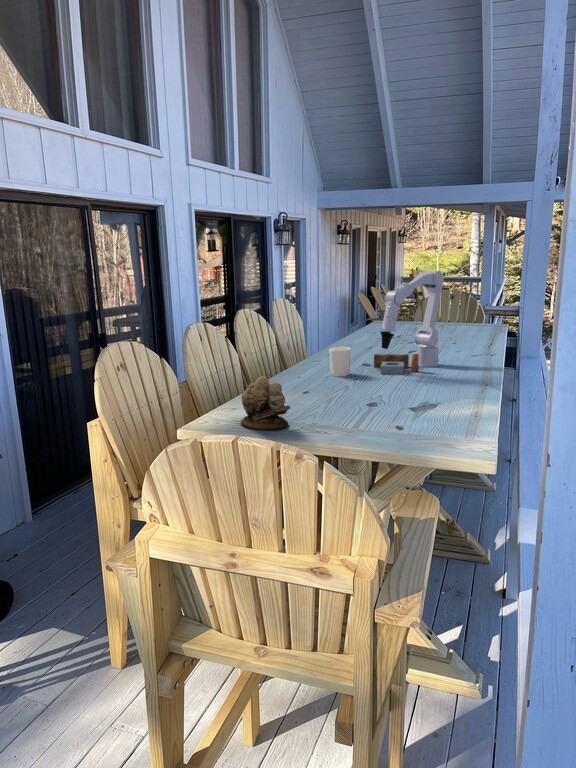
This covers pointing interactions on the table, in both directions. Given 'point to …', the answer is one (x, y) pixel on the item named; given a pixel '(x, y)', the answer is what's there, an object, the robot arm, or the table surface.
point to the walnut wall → (391, 359)
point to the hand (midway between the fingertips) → (384, 348)
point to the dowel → (414, 363)
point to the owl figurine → (264, 406)
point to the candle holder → (340, 361)
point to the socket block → (392, 368)
